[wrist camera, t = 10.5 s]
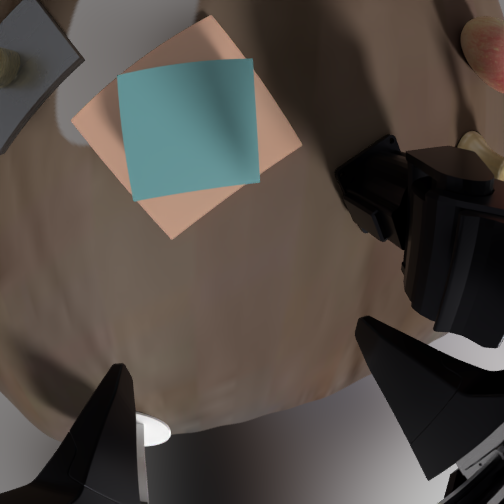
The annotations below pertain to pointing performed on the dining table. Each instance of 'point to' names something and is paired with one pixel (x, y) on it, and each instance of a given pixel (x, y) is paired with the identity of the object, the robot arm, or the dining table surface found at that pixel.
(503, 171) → the hand bell
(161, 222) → the tile
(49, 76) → the post base
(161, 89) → the teal cube
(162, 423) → the white stand
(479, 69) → the apple
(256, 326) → the dining table surface
